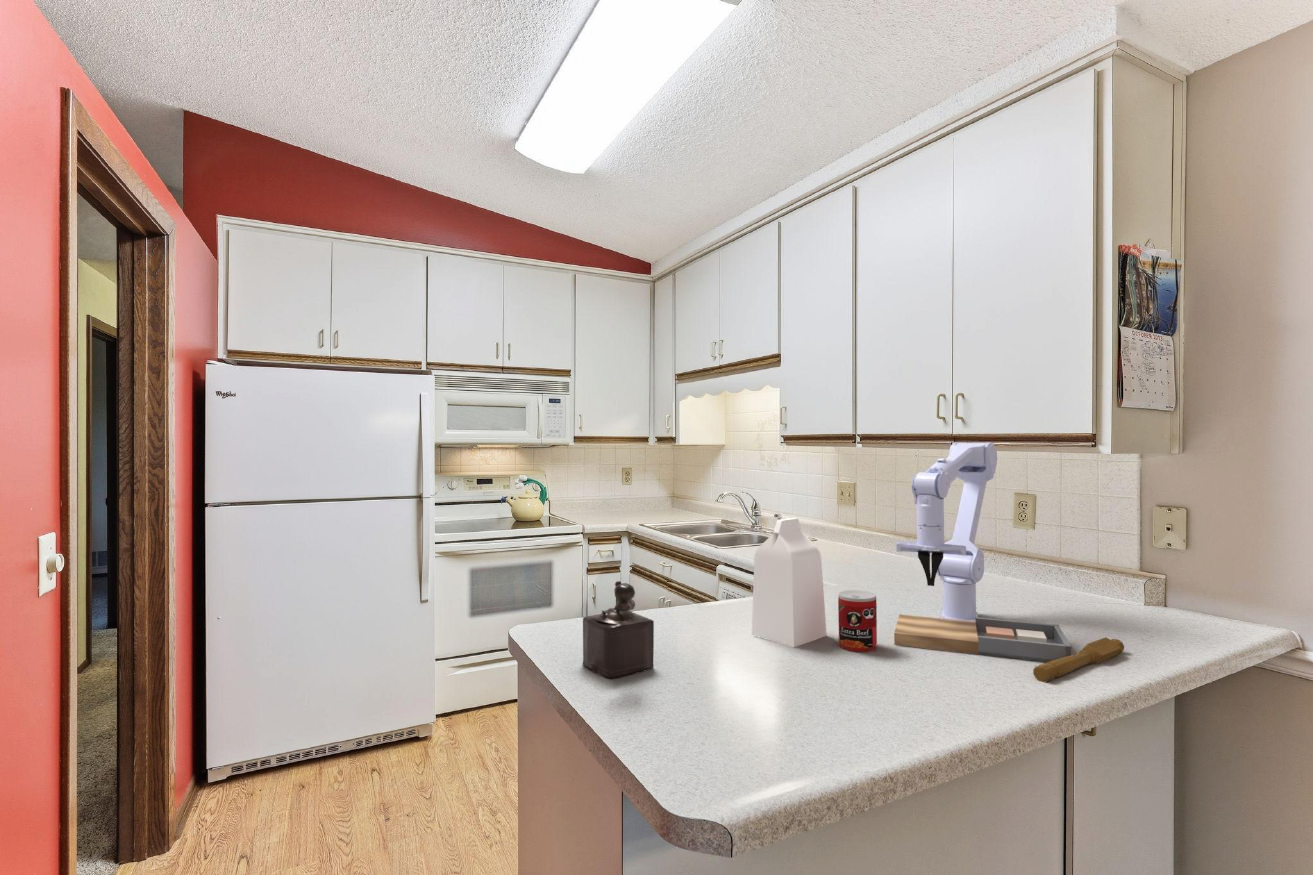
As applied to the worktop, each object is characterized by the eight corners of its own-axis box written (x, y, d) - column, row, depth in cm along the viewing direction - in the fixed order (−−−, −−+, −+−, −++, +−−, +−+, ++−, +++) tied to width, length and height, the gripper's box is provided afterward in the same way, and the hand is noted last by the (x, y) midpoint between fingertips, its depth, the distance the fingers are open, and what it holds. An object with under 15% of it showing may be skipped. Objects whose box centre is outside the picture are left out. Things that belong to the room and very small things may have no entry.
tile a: (985, 638, 139) (985, 626, 139) (1012, 640, 136) (1012, 629, 136) (987, 644, 134) (987, 632, 134) (1014, 647, 132) (1014, 635, 132)
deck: (899, 624, 151) (899, 614, 151) (975, 632, 144) (975, 621, 144) (894, 644, 136) (894, 632, 136) (978, 654, 130) (978, 641, 130)
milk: (793, 647, 135) (792, 523, 136) (751, 635, 144) (750, 519, 144) (826, 635, 143) (825, 519, 143) (784, 625, 152) (783, 514, 152)
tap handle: (1036, 661, 116) (1115, 634, 132) (1028, 674, 117) (1107, 645, 133) (1052, 674, 114) (1130, 644, 129) (1044, 686, 115) (1122, 656, 131)
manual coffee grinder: (578, 665, 126) (577, 573, 126) (625, 654, 132) (625, 566, 132) (621, 689, 113) (620, 587, 113) (671, 675, 120) (670, 579, 120)
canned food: (835, 649, 134) (834, 596, 134) (843, 638, 141) (842, 588, 141) (873, 654, 130) (872, 600, 130) (879, 643, 137) (879, 592, 137)
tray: (975, 632, 144) (975, 617, 144) (1058, 641, 138) (1058, 624, 138) (978, 654, 130) (978, 637, 130) (1071, 665, 123) (1071, 646, 123)
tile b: (1016, 640, 136) (1015, 629, 136) (1043, 643, 134) (1043, 631, 134) (1018, 647, 132) (1018, 635, 132) (1046, 650, 130) (1046, 638, 130)
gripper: (895, 525, 146) (895, 585, 146) (966, 528, 140) (966, 591, 140) (897, 522, 152) (897, 579, 152) (965, 525, 146) (965, 584, 146)
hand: (930, 584), depth 146 cm, fingers closed
